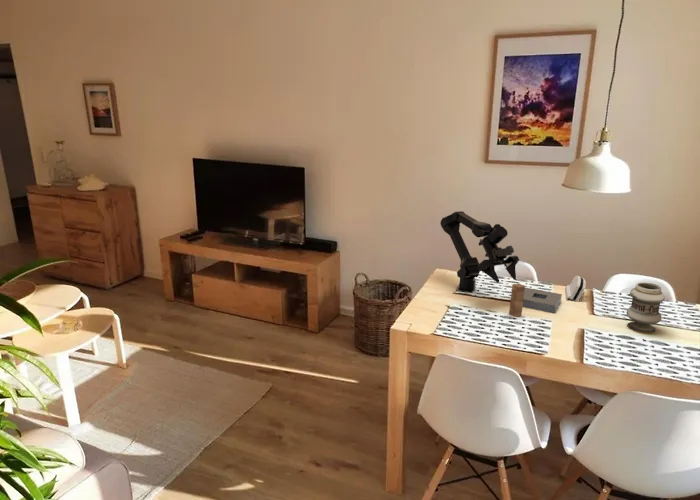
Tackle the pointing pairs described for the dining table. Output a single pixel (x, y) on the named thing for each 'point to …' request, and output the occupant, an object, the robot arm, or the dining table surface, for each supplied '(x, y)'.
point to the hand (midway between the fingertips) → (506, 280)
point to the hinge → (575, 288)
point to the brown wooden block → (516, 300)
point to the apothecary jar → (645, 307)
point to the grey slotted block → (541, 300)
